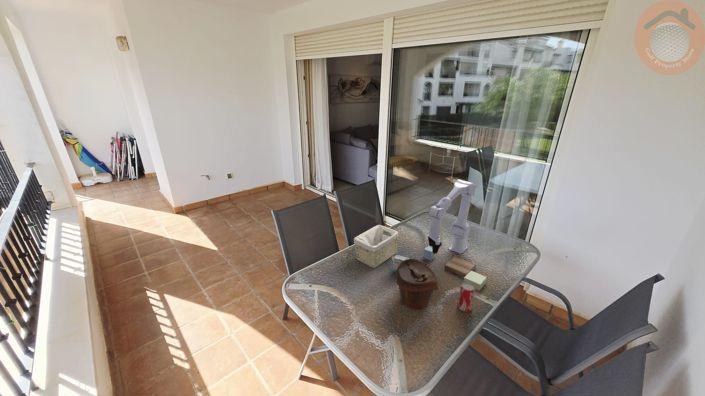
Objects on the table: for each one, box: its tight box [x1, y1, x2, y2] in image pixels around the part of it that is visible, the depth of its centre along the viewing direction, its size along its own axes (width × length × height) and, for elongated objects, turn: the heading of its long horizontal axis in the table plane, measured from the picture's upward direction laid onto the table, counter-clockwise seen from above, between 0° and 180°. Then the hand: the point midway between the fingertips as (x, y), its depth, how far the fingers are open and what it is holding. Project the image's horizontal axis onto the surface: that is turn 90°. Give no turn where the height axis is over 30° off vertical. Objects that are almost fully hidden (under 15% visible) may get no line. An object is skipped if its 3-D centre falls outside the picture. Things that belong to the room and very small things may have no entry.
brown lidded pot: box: [394, 258, 439, 311], centre depth 129 cm, size 18×20×18 cm
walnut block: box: [444, 255, 477, 278], centre depth 154 cm, size 12×12×3 cm
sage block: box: [462, 270, 487, 291], centre depth 142 cm, size 8×8×4 cm
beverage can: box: [457, 283, 476, 313], centre depth 124 cm, size 6×6×12 cm
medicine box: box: [392, 254, 411, 273], centre depth 151 cm, size 8×4×9 cm, turn 62°
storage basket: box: [353, 224, 399, 269], centre depth 165 cm, size 24×16×15 cm
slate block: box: [423, 245, 435, 262], centre depth 164 cm, size 4×4×6 cm
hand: (433, 249), depth 156 cm, fingers open, 7 cm apart
